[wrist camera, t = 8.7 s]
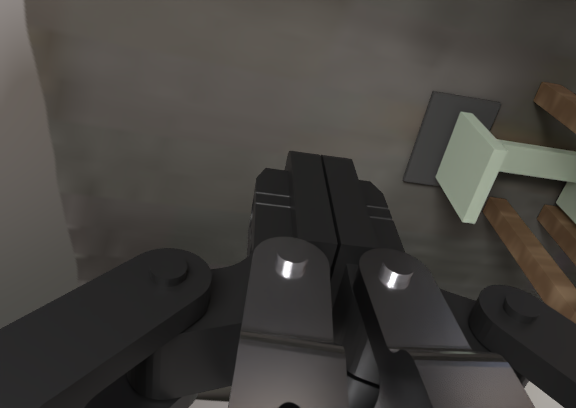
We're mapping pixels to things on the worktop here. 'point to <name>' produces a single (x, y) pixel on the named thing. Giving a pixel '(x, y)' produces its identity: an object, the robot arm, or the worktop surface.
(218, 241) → the worktop surface
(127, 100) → the worktop surface
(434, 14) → the worktop surface
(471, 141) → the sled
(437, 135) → the pad
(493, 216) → the tunnel
